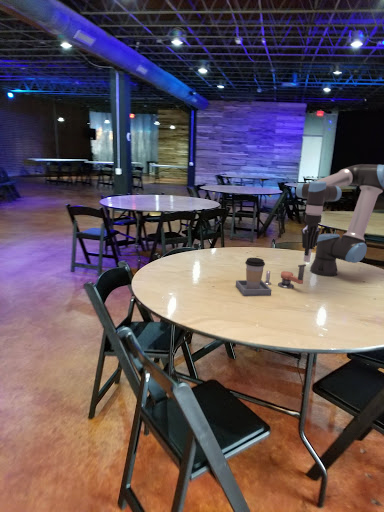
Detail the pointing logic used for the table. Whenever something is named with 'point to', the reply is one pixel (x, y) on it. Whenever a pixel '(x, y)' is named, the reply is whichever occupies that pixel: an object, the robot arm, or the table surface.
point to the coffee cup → (254, 272)
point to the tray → (262, 290)
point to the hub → (285, 284)
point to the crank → (290, 276)
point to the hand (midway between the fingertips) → (306, 261)
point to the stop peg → (267, 278)
